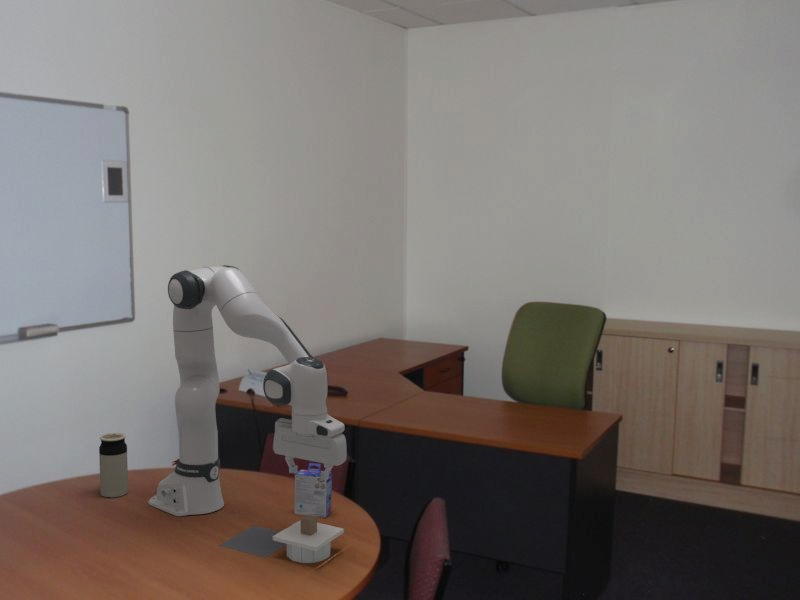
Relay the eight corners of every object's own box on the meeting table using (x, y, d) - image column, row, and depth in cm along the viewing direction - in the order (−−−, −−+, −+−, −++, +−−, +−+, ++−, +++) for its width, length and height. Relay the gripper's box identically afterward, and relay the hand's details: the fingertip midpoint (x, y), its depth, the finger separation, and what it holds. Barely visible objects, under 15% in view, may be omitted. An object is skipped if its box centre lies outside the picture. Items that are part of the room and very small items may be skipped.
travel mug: (122, 498, 248) (121, 440, 246) (96, 498, 248) (94, 439, 246) (131, 489, 256) (130, 432, 254) (106, 488, 256) (104, 432, 254)
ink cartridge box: (332, 511, 241) (332, 463, 239) (327, 518, 236) (327, 469, 234) (300, 508, 243) (300, 460, 241) (293, 515, 238) (293, 466, 236)
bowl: (278, 558, 209) (278, 539, 209) (303, 542, 219) (303, 524, 218) (314, 568, 204) (315, 548, 204) (338, 551, 214) (338, 533, 213)
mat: (218, 546, 216) (218, 545, 216) (254, 527, 229) (254, 525, 229) (265, 559, 209) (265, 557, 209) (299, 538, 222) (299, 536, 222)
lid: (272, 540, 208) (272, 521, 208) (302, 522, 220) (302, 504, 219) (316, 551, 202) (316, 531, 202) (343, 532, 214) (344, 513, 213)
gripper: (268, 419, 209) (267, 472, 211) (336, 431, 200) (336, 487, 202) (282, 414, 215) (282, 465, 217) (350, 425, 206) (349, 479, 207)
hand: (308, 476), depth 209 cm, fingers open, 8 cm apart
